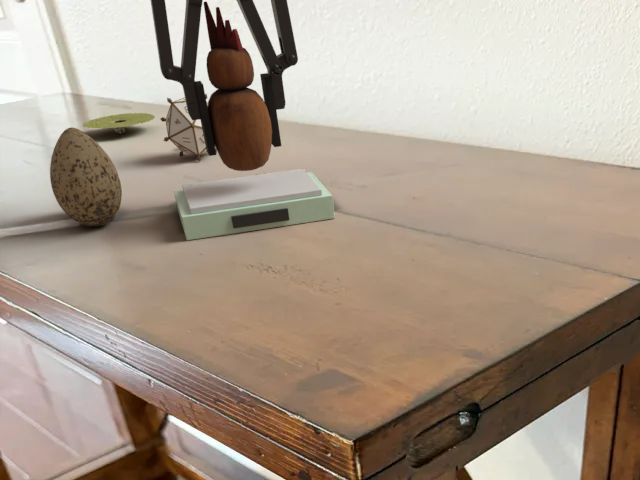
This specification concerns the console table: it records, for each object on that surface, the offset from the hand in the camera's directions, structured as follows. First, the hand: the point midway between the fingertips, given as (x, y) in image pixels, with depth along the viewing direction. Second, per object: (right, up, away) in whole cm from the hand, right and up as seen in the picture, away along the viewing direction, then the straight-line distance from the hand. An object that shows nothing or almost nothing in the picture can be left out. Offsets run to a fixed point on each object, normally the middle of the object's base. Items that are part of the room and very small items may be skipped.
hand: (243, 147), depth 86 cm
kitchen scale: (0, -6, +4) cm, 7 cm away
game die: (-12, +12, +28) cm, 33 cm away
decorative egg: (-17, -7, +5) cm, 19 cm away
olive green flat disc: (-29, +24, +45) cm, 58 cm away
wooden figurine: (0, -2, +1) cm, 2 cm away
